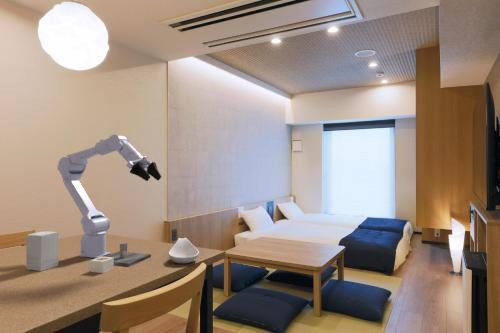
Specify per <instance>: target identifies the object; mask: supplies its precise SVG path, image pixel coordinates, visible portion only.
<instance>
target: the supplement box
mask: <svg viewBox="0 0 500 333" xmlns="http://www.w3.org/2000/svg"><path fill="white" fill-rule="evenodd" d="M25 238H26V239H25V240H26V249H25V250H26V252H25V253H26V261H25V262H26V266H25V268H26V270H28V271H29V270H30V271H38V272H43V271H46V270H49V269H53V268H55V267H59V232H58V231H49V230H48V231H46V230H45V231H44V230H42V231H38V232H33V233H29V234H26V237H25Z"/></svg>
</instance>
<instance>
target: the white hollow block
mask: <svg viewBox="0 0 500 333" xmlns="http://www.w3.org/2000/svg"><path fill="white" fill-rule="evenodd" d="M89 266H90V268H89V269H90V270H89V272H90V273H98V274H104V273H107V272H110V271H112V270H114V266H115V265H114V258H112V257H104V256H102V257H99V258H93V259H90V260H89Z"/></svg>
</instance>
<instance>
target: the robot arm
mask: <svg viewBox="0 0 500 333" xmlns="http://www.w3.org/2000/svg"><path fill="white" fill-rule="evenodd" d="M115 151H116V152H118V154H119V155H120V156H121V157H122V158H123V159H124V160H125V161H126V162H127V163H126V167H127V168H128V169H130V170H129V173H130V174H132V175H134V176H136V177H139V178H141V179H142V180H144V181H146V182H148V181H149V180H150V179H151V177H153V178H154V180H156V181H160V180H161V178H162V175H161V173H160V171H159V170H158V166H157V163H156V162H155V161H149V160H148V157H147V156H146V155H143V156H142V155H141V153H140V152H139V151H138V150H137V149H136V148H135V147H134V146H133V145H132V144H131V143H130V142H129V139H128V138H127V136H125V135H121V134H112V135H111V136H109V137H108V138H106V139H102V138H101V139H99V141H97V142H96V143H95V145H94V146H92V147H89V148H87V149H82V150H80V151H78V152H74V153H73V152H72V153H70V154H69V153H68V154H67V155H66V156H62V157H61V158H60V159H59V161H58V164H57V170H58V171H59V173H60V175H61V178H62V182H63V185H64V186H65V188H66V190H67V191H68V194H69V195H70V196H71V198H72V199H73V201H74V203H75V205H76V207H77V208H78V210H79V212H80V213H81V215H82V218H81V219H80V223H81V225H82V230H83V232H84V234H83V235H82V236H81V239H80V254H79V255H78V256H79V257H81V258H82V257H85V258H93V259H96V258H99V257H104V256H107V255H110V254H112V253H111V252H110V251H107V233H108V230H109V229H110V227H111V221H110V219H109V217H107V216H105V215H104V213H103V212H101V211H99V210H97V208H96V206H94V203H93V202H92V200H91V199H90V196H89V195H88V194H87V192H86V190H85V189H84V187H83V185H82V184H81V182H80V179H81V178H82V177H83V174H84V172H85V170H86V168H87V164H89V162H88V159H90V158H93V157H95V156H97V155H99V156H105V155H108V154H110V153H114V152H115ZM145 168H146V169H145Z"/></svg>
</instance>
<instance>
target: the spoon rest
mask: <svg viewBox="0 0 500 333" xmlns="http://www.w3.org/2000/svg"><path fill="white" fill-rule="evenodd" d="M199 255H200V251H199V249H198V248H197V247H196V246H195V245H194V244H193V243H192V242H191V241H190V240H189V239H188V238H187V237H184V238H180V237H178V239H177V240H176V242H175V243H174V245H173V246H172V247H171V248H170V250H169V252H168V257H169V258H170V260H171V261H173V262H174V263H177V264H189V263H192V262H194V261H195V260H196V259H197V258H198V257H199Z"/></svg>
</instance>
